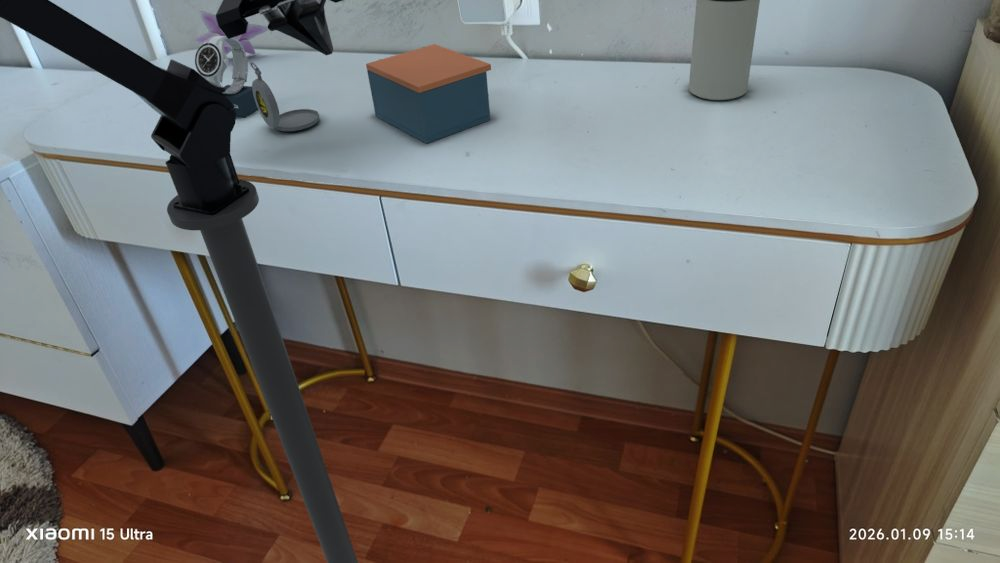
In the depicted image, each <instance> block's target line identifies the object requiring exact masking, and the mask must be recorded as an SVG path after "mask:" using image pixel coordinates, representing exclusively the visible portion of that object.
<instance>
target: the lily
mask: <svg viewBox="0 0 1000 563" xmlns="http://www.w3.org/2000/svg"><path fill="white" fill-rule="evenodd" d="M198 15H199V18H200V20H201V21H202V23H203V25H204V26H205V28H206V30H207V31H208V32H206V33H203V34H202V35H199V36H197V37H196V38H194V39H193V41H192V42H193V43H195V44H196V43H197V44H203V43H204V42H205V40H206V41H207V39H209V38H210V37H212V36H225V35H224V34H223V33H222V31H221V30H220V29H219V28H218V26H217V22H216V14H215V13H212V12H207V11H199V12H198ZM268 31H270V30H269V29H268V26H265V25H263V24H262V25H261V24H257V23H248V29H247V32H246V33H245V34H242V35H239V36H236V37H234V38H236V39H237V40H238V41H239V42H240V43H241V44H242V46H243V48H244V50H245V53H247V54H249V55H252V56H256V51H255V48H254V46H253V45H252V43H251V42H250V41H251V40H252V39H254V38H256V37H258V36H261V35H262V34H264V33H267V32H268ZM223 42H224V50H225V53H226V56H227V55H228V54H230V53H232V58H233V57H234V55H233V50H232V48H231V46H230V45H229V43H227V42H226V41H225V40H223Z"/></svg>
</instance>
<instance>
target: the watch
mask: <svg viewBox="0 0 1000 563" xmlns="http://www.w3.org/2000/svg"><path fill="white" fill-rule="evenodd" d="M223 40H225V41H226V42H227V43H229V45H230V46H231V48H232V50H233V54H232V73H231V74H232V76H231V78H232V83H231V84H226V85H225V86H222V83H223V79H224V78H223V77H224V73H225V72H226V70H227V67H228V66H229V65H230V60H229V58H228V56H227V55H226V53H225V50H224V42H223ZM233 55H234V57H233ZM248 61H249V60H248V56H247V54H246V52H245V50H244V48H243V46H242V44H241V43H240V42H239V41H238V40H237V39H236V38H234V37H233V38H230V39H228V38H227V37H226V36H212V37H210V38H209V39H207V41H206V40H205V42H204V43H201V45H200V46H199V47H198V48H197V50H196V52H195V55H194V66H195V69H196V71H197V72H198V73H199V74H200V75H201V76H202V77H204V78H205V79H206V80H208V81H210V82H212V83H214V84H217V85H219V86H221V87H223V88H225V89H226V91H225V92H223V93H221V94H222V95H224V96H226V97H227V98H228V99H229V100H230V101H231V102H232V103H233V105H234V109H235V113H236V118H247V117H249V116H250V115H252V114H253V113H255V112H256V111H259V110H258V108H257V105H256V102H255V99H254V95H253V90H252V85H251V86H250V85H245V83H246V82H248V75H249V73H248V72H249V62H248Z"/></svg>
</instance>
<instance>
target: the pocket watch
mask: <svg viewBox="0 0 1000 563" xmlns="http://www.w3.org/2000/svg"><path fill="white" fill-rule="evenodd" d="M249 62H250V63H249V64H250V66H251V68H252V69H253V71H254V74H255V75H256V77H257V78H255V79H254V80H253V81H252V83H251V86H252V90H253V95H254V99H255V102H256V105H257V108H258V110H257V111H258V112H259V114H260V116H261V118H262V119H263V121H264V122H265V124H266V125H267V127H270V128H274V129H275V130H277V131H279V132H297V131H302V130H305V129H309V128H310V127H313V126H314V125H316V124H317V123H318V122H319V120H320V113H319V112H318V111H317V110H315V109H310V108H299V109H293V110H289V111H285V112H283V113H280V110H279V106H278V103H277V100H276V98H275V95H274V93H273V91H272V89H271V87H270V86H269V84H267V83H266V81H265V80H264V79H263V77H262V71H261V70H260V68H259V67H258V66H257V64H255V63H254V62H253V61H249Z"/></svg>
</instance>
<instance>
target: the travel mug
mask: <svg viewBox="0 0 1000 563" xmlns="http://www.w3.org/2000/svg"><path fill="white" fill-rule="evenodd" d="M695 1H696V3H695V13H694V24H693V35H692V37H693V38H692V44H691V45H692V47H691V58H690V67H689V68H690V70H689V81H688V91H689V92H690V93H691V94H692V95H694V96H696V97H698V98H700V99H703V100H709V101H726V100H727V101H729V100H734V99H737V98H739V97H741V96H744V95H745V94H746V93H747V92H748V86H749V81H750V72H751V66H752V59H753V58H752V57H753V51H754V44H755V39H756V32H757V31H756V30H757V23H758V16H759V10H760V3H761V2H760V1H761V0H695Z"/></svg>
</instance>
